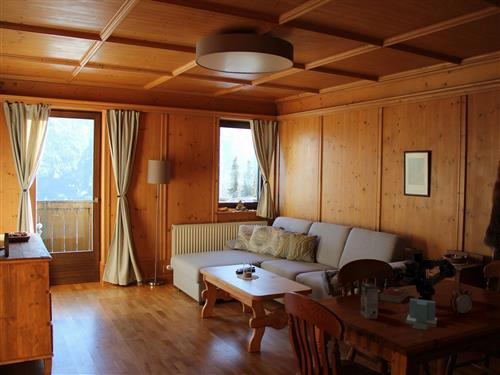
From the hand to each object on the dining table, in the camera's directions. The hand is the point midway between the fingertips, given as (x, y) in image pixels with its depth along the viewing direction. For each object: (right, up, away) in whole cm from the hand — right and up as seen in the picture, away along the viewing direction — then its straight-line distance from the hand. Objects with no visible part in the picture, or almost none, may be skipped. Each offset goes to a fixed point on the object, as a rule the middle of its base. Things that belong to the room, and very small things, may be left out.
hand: (400, 282), depth 250 cm
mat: (+4, -16, -18) cm, 25 cm away
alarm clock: (+32, -17, -1) cm, 36 cm away
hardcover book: (+6, -16, +29) cm, 33 cm away
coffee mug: (-14, -16, +7) cm, 22 cm away
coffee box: (-19, -16, -8) cm, 26 cm away
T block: (+6, -16, -14) cm, 22 cm away
